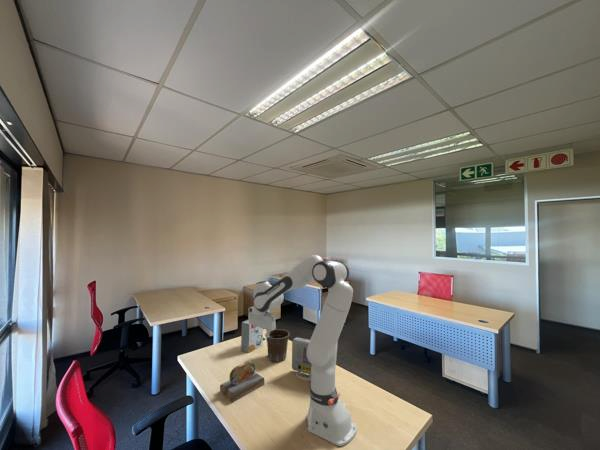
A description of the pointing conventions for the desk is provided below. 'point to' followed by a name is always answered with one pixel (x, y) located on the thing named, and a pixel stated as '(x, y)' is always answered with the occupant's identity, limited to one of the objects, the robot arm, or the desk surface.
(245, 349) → the hard drive box
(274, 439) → the desk surface
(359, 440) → the desk surface
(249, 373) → the tin
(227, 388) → the plinth
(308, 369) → the network device
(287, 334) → the plant pot
